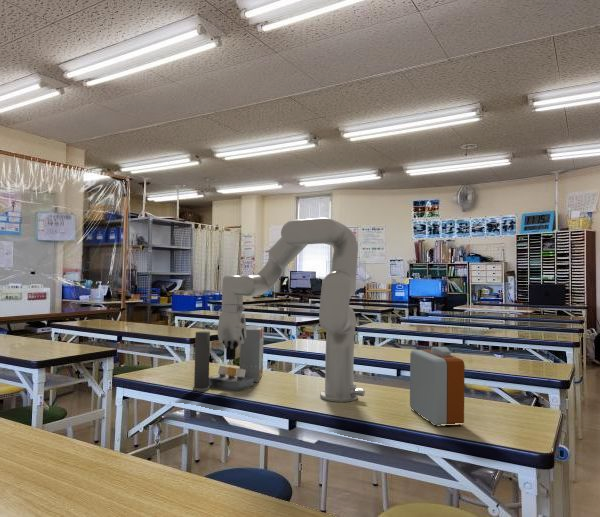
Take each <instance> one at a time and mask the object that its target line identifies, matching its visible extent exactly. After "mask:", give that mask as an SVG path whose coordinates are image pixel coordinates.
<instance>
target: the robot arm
mask: <svg viewBox="0 0 600 517" xmlns="http://www.w3.org/2000/svg"><path fill="white" fill-rule="evenodd" d="M280 236H281V237H280V238H279V239H278V240H277V241H276V242H275V243H274V244H273V245H272V247H270V248H269V249H268V260H267V262H266V264H265V265H264V266H263V267H262V268H261V270H260V271H259V272H258V273H257V274H256V275H255V274H252V275H249V274H248V275H234V274H233V275H228V274H227V275H224V276H223V278H222V290H221V291H222V292H221V293H222V294H221V295H222V296H221V311H220V313H219V317H218V325H217V338H218V342H219V343H222V344H223V346H224V348H225V351H226V353H225V360H228V361H233V360H235V359H236V349H237V348H238V347H239V346H240V344H244V339H246V326H247V323H246V316H245V312H243V311H245V308H246V307H245V306H244V304H243V302H244V301H243V300H244V297H255V296H257V297H258V296H262V295H264V294H266V293H267V292H268V291H269V290H270V289H271V288H272V287H273V286H274V285H275V284H276V283H277V282H278V281H279V279H280V278H281V276H282V275H283V273H284V272H285V270H286V268H287V267H288V266H289V264H290V263H292V261H293V260H294V259H295V258H296V257H297V256H298V255H299V254H300V253H301V252H302V251H303V250H304V249H305V248H306V247H307V246H308V245H320V244H322V245H323V244H324V245H329V246H331V247H333V254H332V259H331V272H330V273H328V274H327V275H325V277H324V279H323V281H322V284H321V288H320V289H321V290H320V291H321V292H320V302H319V312H318V314H319V315H318V317H319V318H318V319H319V320H318V321H319V325H320V327H321V329H322V330H323V331H324V332H325V333H326V337H325V362H324V363H325V364H324V365H325V366H324V368H325V371H324V373H325V374H324V390H323V391H321V392H320V396H319V397H320V398H321V399H322V400H325V401H329V402H338V403H341V402H342V403H344V402H345V403H346V402H347V403H348V402H353V401H357V400H358V398H359V397H364V396H365V392H366V391H365V390H364V388H358V387H357V383H354V369H355V368H354V364H355V363H354V360H355V356H354V355H355V354H354V352H355V334H356V332H355V331H356V325H357V323H356V322H357V320H356V319H357V318H356V314H355V310H354V309H353V308H352V307H351V306H350V301H351V299H350V298H351V297H352V296H354V294H355V292H356V288H357V272H358V271H357V270H358V254H359V252H358V250H359V249H358V241H357V238H356V236H355V233H353V231H352V230H351V229H350V228H349V227H347V226H346V225H345V224H343V223H341V222H339V221H337V220H334V219H332V218H329V217H317V218H305V219H292V220H289V221H287V222H286V223H284V225H283V226H282V227H281V231H280Z"/></svg>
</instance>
